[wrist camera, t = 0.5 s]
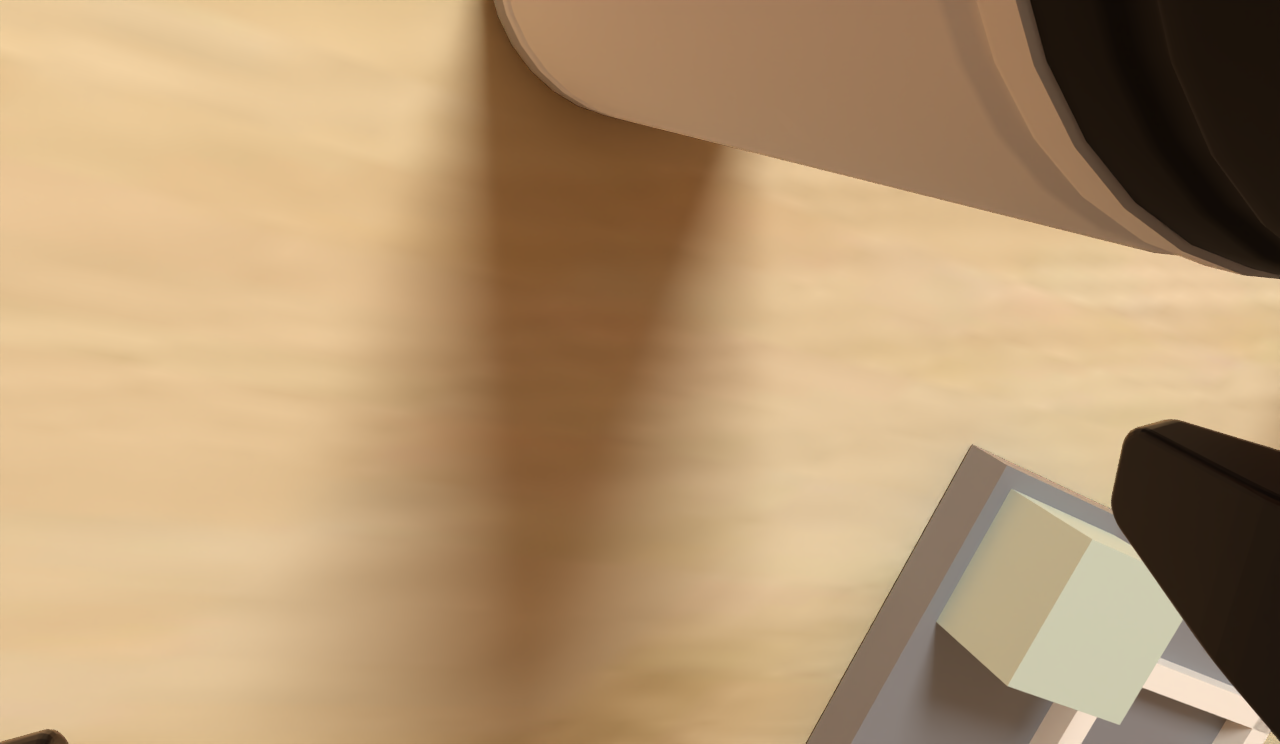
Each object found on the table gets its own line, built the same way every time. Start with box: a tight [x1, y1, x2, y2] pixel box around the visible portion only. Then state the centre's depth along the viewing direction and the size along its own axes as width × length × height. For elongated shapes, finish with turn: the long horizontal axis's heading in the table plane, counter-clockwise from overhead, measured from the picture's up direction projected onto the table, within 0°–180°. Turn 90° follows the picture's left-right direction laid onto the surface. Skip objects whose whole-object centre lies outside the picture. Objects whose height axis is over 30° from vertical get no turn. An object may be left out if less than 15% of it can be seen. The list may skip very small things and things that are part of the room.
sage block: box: [936, 489, 1183, 725], centre depth 27 cm, size 4×4×3 cm
